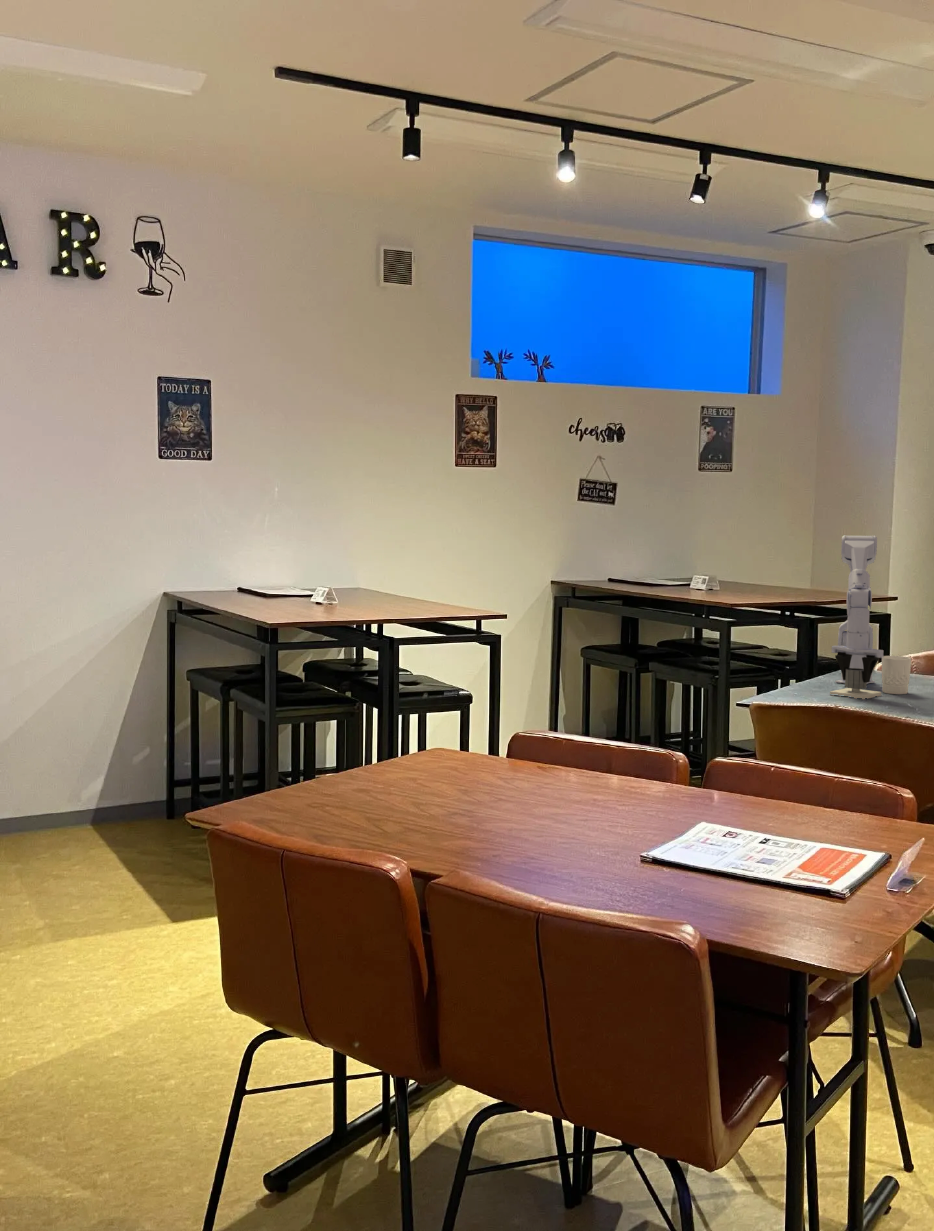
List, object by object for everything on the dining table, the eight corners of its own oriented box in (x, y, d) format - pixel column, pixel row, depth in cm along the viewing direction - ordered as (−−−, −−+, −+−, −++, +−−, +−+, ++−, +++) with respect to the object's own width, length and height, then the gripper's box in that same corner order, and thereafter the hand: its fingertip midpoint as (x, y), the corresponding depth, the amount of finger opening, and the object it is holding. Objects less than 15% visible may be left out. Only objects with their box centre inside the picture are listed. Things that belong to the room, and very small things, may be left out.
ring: (851, 685, 336) (851, 667, 336) (869, 687, 332) (870, 669, 332) (841, 687, 332) (842, 669, 332) (860, 689, 328) (860, 671, 328)
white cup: (889, 689, 343) (891, 655, 342) (915, 693, 337) (916, 657, 336) (874, 692, 338) (876, 657, 337) (900, 695, 332) (901, 660, 331)
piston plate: (848, 691, 340) (848, 675, 339) (881, 695, 332) (881, 679, 332) (829, 695, 333) (830, 678, 332) (863, 699, 325) (863, 683, 325)
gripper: (826, 631, 333) (824, 679, 335) (875, 635, 323) (873, 685, 324) (839, 629, 338) (837, 677, 339) (887, 633, 328) (886, 682, 329)
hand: (856, 681), depth 332 cm, fingers closed on ring, 6 cm apart
